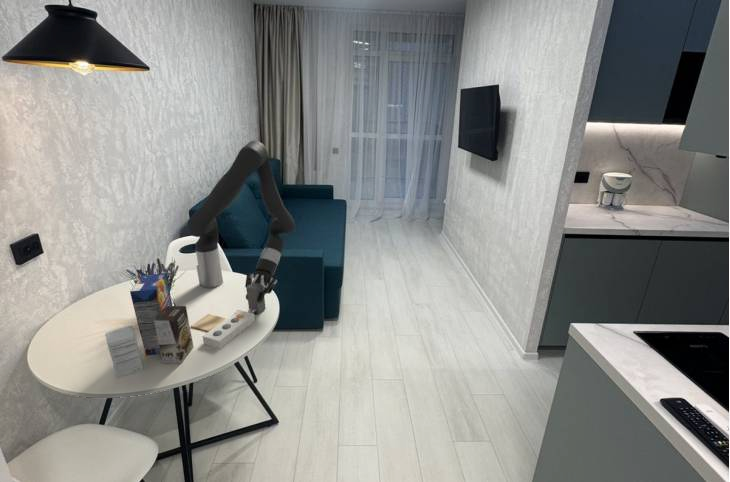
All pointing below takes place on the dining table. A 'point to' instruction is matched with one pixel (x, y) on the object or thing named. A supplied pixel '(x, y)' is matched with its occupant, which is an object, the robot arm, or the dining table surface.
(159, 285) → the cereal box
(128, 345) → the supplement box
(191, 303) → the dining table surface
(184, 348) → the coffee box
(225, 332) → the power strip
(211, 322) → the coaster
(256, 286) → the block
